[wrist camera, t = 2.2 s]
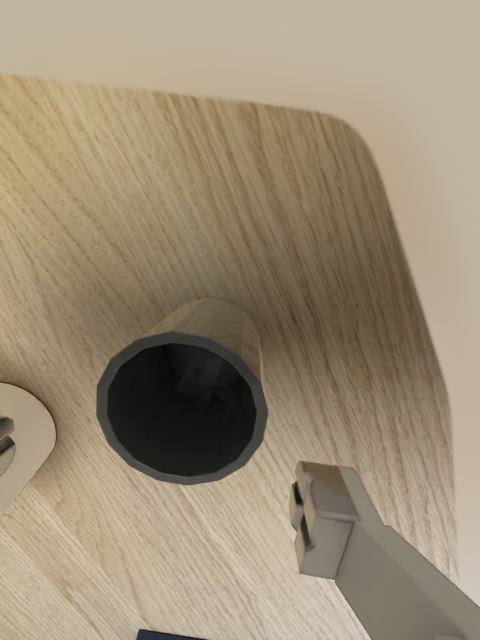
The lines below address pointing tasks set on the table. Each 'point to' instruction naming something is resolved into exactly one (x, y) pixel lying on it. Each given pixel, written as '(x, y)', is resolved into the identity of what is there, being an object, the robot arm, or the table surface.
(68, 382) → the table surface
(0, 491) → the cup
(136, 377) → the grey tumbler
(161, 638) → the towel
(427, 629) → the robot arm
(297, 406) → the table surface
